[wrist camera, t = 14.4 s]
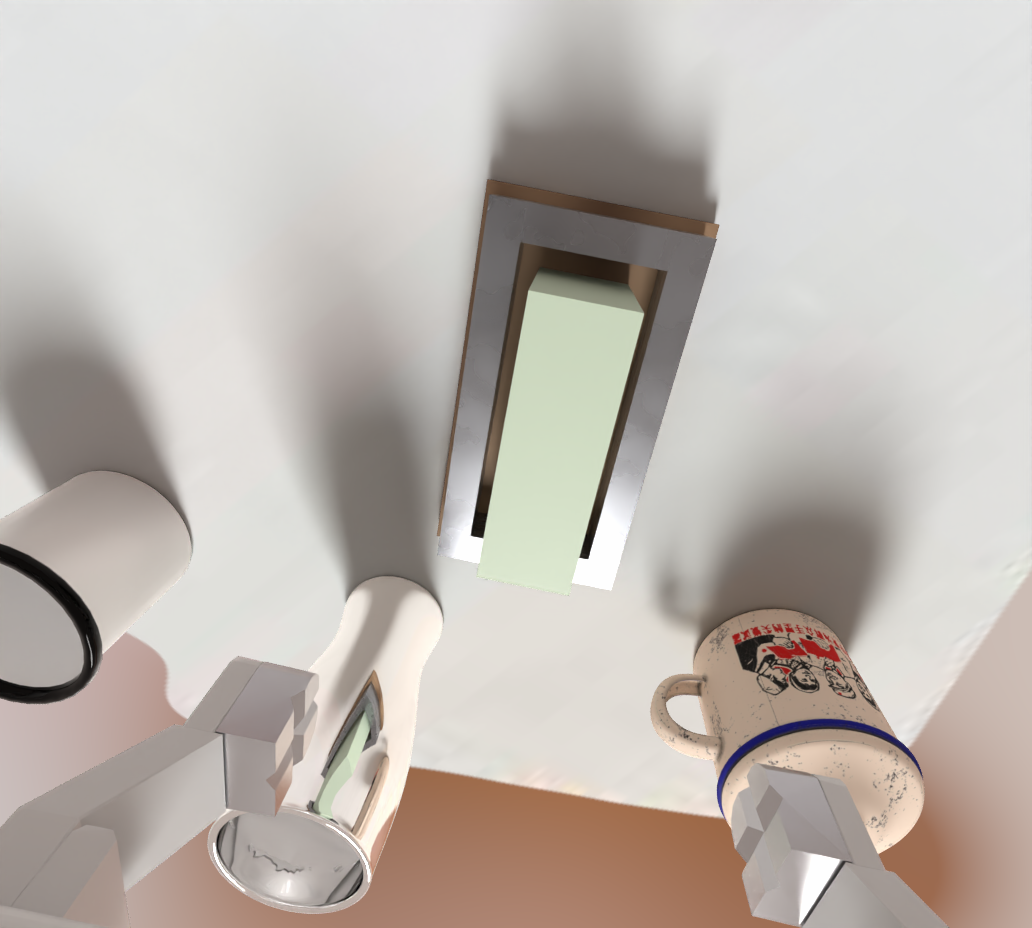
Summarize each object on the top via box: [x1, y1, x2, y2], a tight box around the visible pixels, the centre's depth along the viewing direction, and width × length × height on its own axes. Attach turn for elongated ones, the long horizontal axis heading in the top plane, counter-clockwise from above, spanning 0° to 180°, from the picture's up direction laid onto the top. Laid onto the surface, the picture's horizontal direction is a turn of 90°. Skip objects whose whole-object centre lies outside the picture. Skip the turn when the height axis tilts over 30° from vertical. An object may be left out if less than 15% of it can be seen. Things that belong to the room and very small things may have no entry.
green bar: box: [476, 267, 644, 596], centre depth 26 cm, size 12×4×7 cm, turn 170°
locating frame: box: [437, 179, 719, 590], centre depth 28 cm, size 10×18×4 cm, turn 170°
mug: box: [0, 471, 192, 704], centre depth 33 cm, size 12×10×9 cm
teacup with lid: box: [650, 609, 924, 853], centre depth 31 cm, size 12×9×12 cm
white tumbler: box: [208, 576, 443, 914], centre depth 30 cm, size 7×7×15 cm
